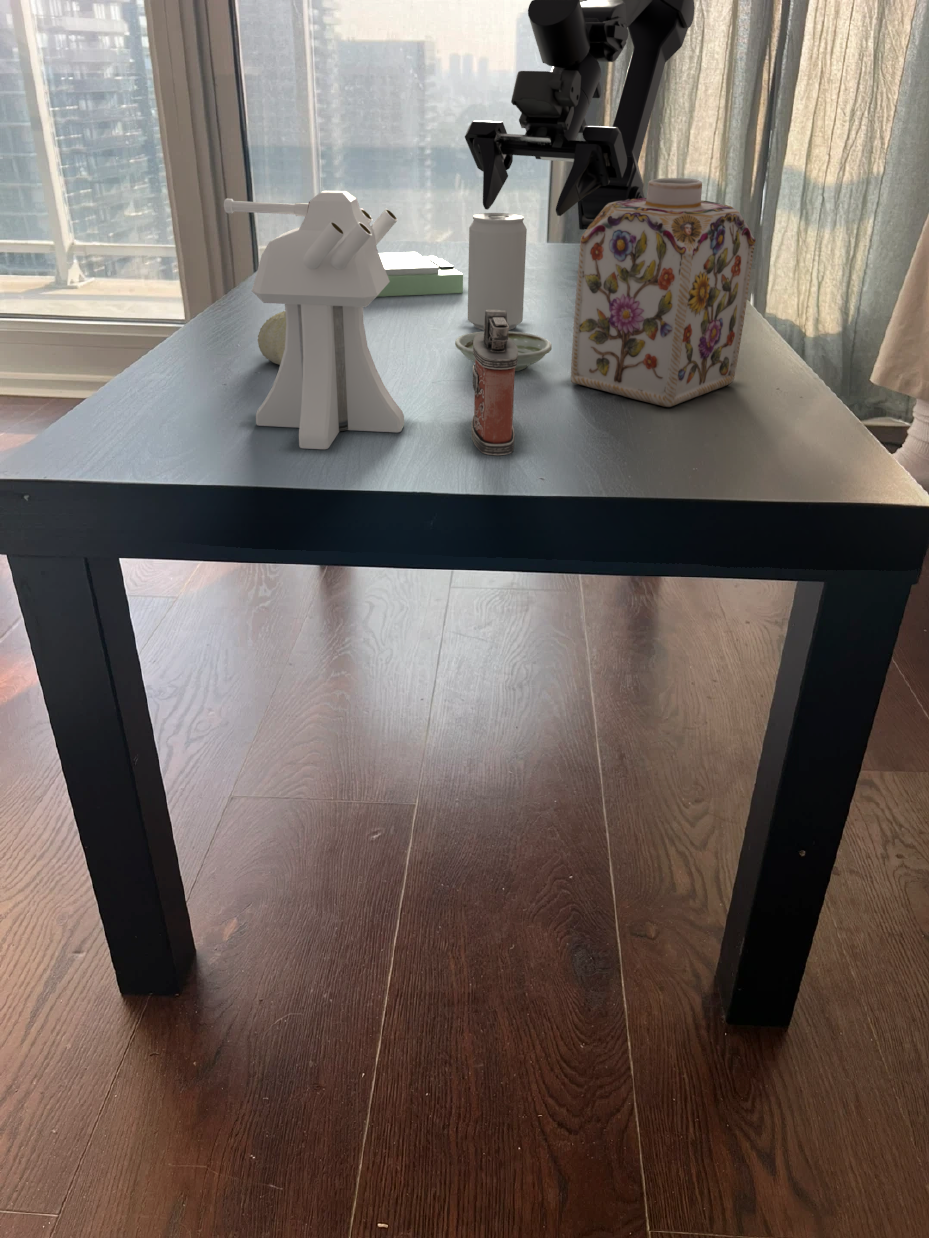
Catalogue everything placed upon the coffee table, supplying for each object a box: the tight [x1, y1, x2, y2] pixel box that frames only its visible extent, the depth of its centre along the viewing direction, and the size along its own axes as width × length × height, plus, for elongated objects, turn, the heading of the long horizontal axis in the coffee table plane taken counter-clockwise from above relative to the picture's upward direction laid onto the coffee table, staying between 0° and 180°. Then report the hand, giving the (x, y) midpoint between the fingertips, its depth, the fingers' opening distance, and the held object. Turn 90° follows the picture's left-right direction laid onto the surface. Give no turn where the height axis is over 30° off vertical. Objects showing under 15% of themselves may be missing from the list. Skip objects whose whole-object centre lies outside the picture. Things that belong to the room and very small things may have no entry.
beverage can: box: [467, 212, 528, 331], centre depth 111 cm, size 6×6×12 cm
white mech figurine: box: [223, 189, 405, 450], centre depth 77 cm, size 12×13×18 cm
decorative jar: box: [570, 177, 756, 408], centre depth 89 cm, size 12×12×18 cm
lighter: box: [470, 310, 518, 456], centre depth 77 cm, size 8×3×10 cm, turn 5°
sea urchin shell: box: [257, 310, 286, 366], centre depth 98 cm, size 9×8×8 cm
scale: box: [376, 251, 464, 298], centre depth 132 cm, size 16×14×3 cm
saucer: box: [454, 330, 553, 372], centre depth 98 cm, size 10×10×2 cm
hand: (520, 210), depth 112 cm, fingers open, 9 cm apart
